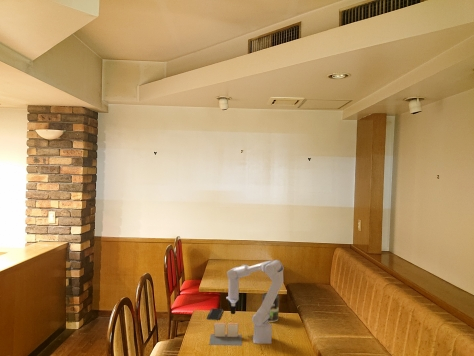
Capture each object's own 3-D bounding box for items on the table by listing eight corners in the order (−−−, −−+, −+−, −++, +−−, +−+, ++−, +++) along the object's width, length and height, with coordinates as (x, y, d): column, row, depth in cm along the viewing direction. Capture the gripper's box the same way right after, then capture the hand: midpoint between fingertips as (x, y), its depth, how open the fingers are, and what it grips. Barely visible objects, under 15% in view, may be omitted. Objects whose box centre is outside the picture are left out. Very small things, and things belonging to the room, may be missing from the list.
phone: (206, 318, 200) (211, 308, 215) (206, 320, 200) (211, 309, 215) (219, 319, 199) (223, 309, 214) (219, 321, 199) (223, 310, 214)
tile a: (238, 335, 181) (238, 323, 181) (238, 337, 180) (238, 324, 179) (227, 335, 181) (227, 323, 181) (227, 337, 180) (227, 324, 179)
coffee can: (277, 323, 198) (277, 299, 197) (260, 320, 201) (260, 297, 200) (279, 316, 208) (280, 293, 207) (263, 313, 211) (264, 291, 210)
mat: (241, 335, 182) (241, 334, 182) (242, 346, 171) (242, 345, 171) (210, 334, 182) (210, 334, 182) (209, 345, 171) (209, 344, 171)
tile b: (225, 335, 181) (225, 323, 181) (225, 336, 180) (225, 324, 179) (214, 335, 181) (214, 322, 181) (214, 336, 179) (214, 324, 179)
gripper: (226, 284, 193) (226, 307, 194) (226, 294, 179) (225, 319, 179) (238, 285, 193) (238, 308, 194) (239, 294, 179) (238, 319, 179)
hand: (232, 313), depth 187 cm, fingers closed
